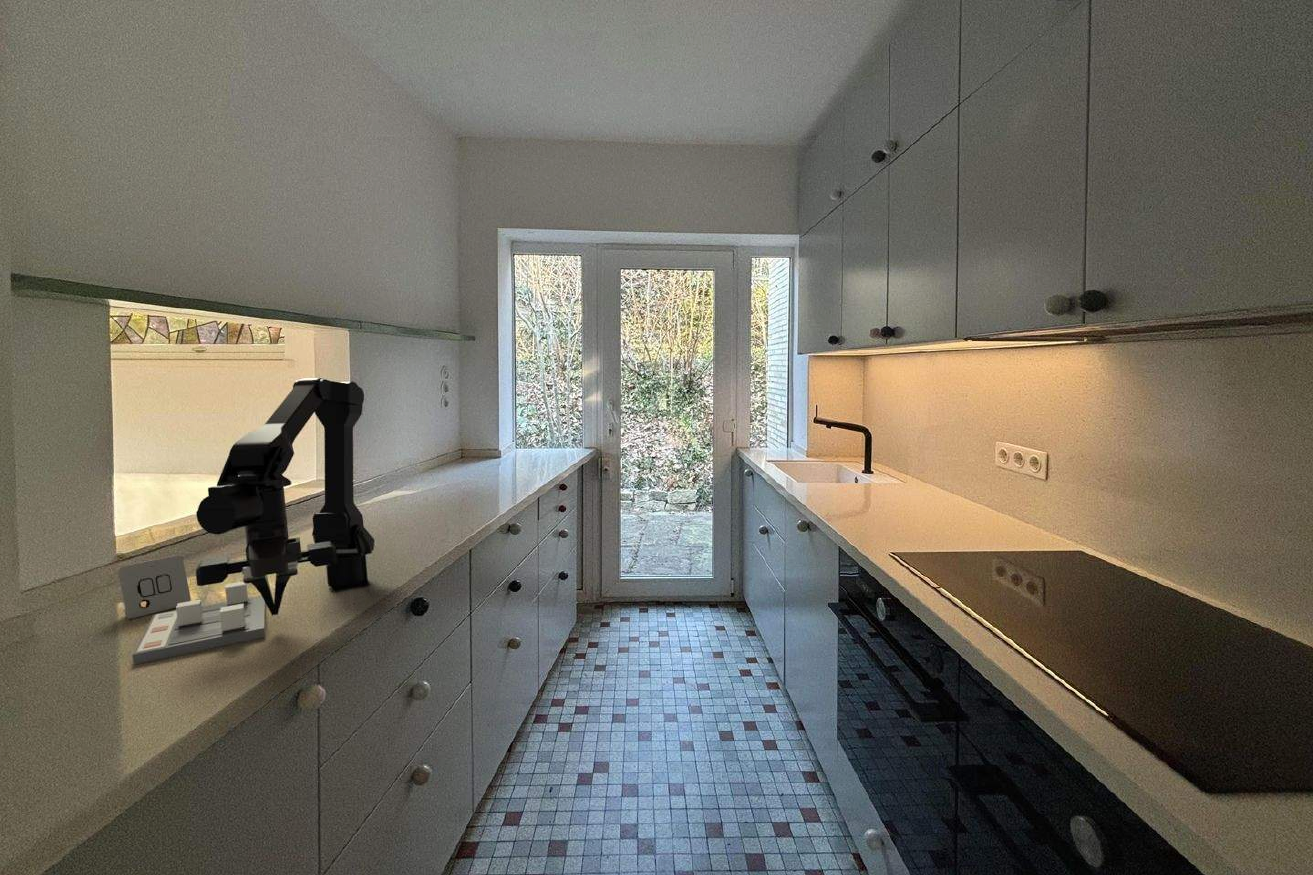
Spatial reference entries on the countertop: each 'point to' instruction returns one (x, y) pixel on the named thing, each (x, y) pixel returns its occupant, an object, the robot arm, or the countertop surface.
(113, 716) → the countertop surface
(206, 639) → the switch housing
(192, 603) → the switch tab
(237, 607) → the switch tab
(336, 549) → the robot arm
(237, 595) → the switch tab
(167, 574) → the electrical switch
